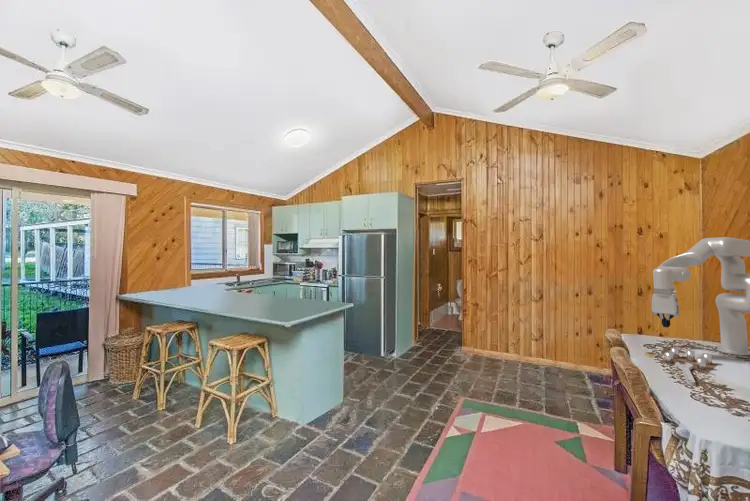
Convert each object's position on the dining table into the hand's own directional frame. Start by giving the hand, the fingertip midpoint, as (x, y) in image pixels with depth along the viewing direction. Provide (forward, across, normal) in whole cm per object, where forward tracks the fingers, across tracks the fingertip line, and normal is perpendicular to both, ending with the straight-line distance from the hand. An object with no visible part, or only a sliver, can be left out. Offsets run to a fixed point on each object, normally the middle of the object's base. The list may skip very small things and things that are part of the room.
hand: (666, 326), depth 164 cm
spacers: (+17, -8, +1) cm, 19 cm away
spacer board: (+17, -8, +1) cm, 19 cm away
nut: (+17, +7, +1) cm, 19 cm away
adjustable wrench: (+17, -11, +18) cm, 27 cm away
